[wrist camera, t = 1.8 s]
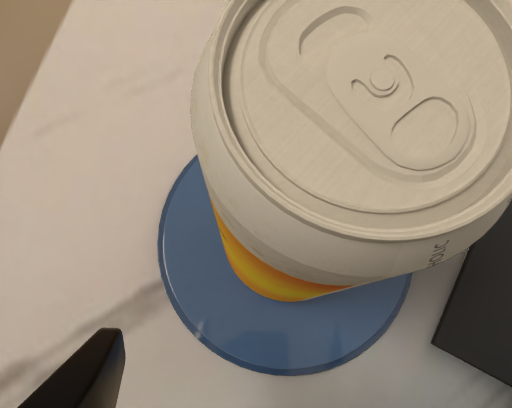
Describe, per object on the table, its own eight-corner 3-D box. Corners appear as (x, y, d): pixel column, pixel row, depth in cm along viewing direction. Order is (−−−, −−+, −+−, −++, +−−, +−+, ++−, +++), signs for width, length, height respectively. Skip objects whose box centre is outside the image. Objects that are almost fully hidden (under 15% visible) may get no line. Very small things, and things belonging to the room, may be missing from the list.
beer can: (294, 154, 22) (388, -143, 8) (375, 247, 21) (656, 101, 7) (199, 228, 21) (102, 41, 7) (278, 330, 20) (367, 364, 6)
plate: (392, 404, 20) (395, 407, 20) (125, 339, 20) (122, 339, 20) (428, 152, 23) (432, 148, 23) (196, 99, 24) (195, 94, 23)
